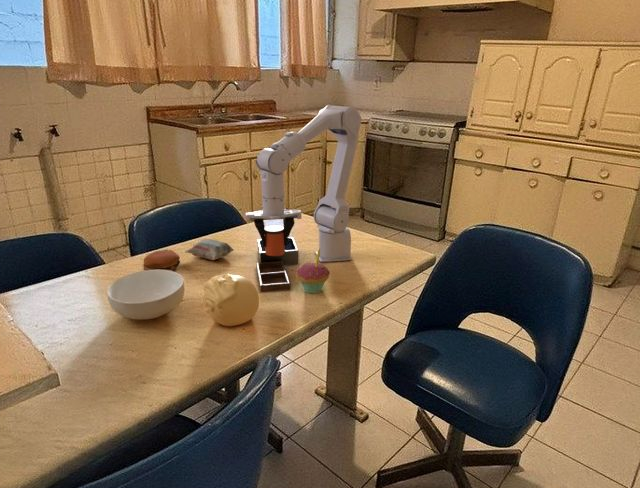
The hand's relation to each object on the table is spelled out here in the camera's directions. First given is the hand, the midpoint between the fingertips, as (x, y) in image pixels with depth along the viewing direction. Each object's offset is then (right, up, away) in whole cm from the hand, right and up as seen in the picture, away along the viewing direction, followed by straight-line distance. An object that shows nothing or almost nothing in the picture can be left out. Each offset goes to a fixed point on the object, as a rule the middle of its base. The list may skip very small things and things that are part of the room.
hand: (274, 245), depth 123 cm
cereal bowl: (-27, -16, -16) cm, 36 cm away
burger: (-33, -7, +7) cm, 34 cm away
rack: (-1, -9, +1) cm, 9 cm away
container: (0, -2, +1) cm, 2 cm away
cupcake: (+10, -12, -5) cm, 16 cm away
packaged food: (-21, -4, +15) cm, 26 cm away
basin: (-1, -4, +14) cm, 15 cm away
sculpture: (-7, -17, -19) cm, 27 cm away
